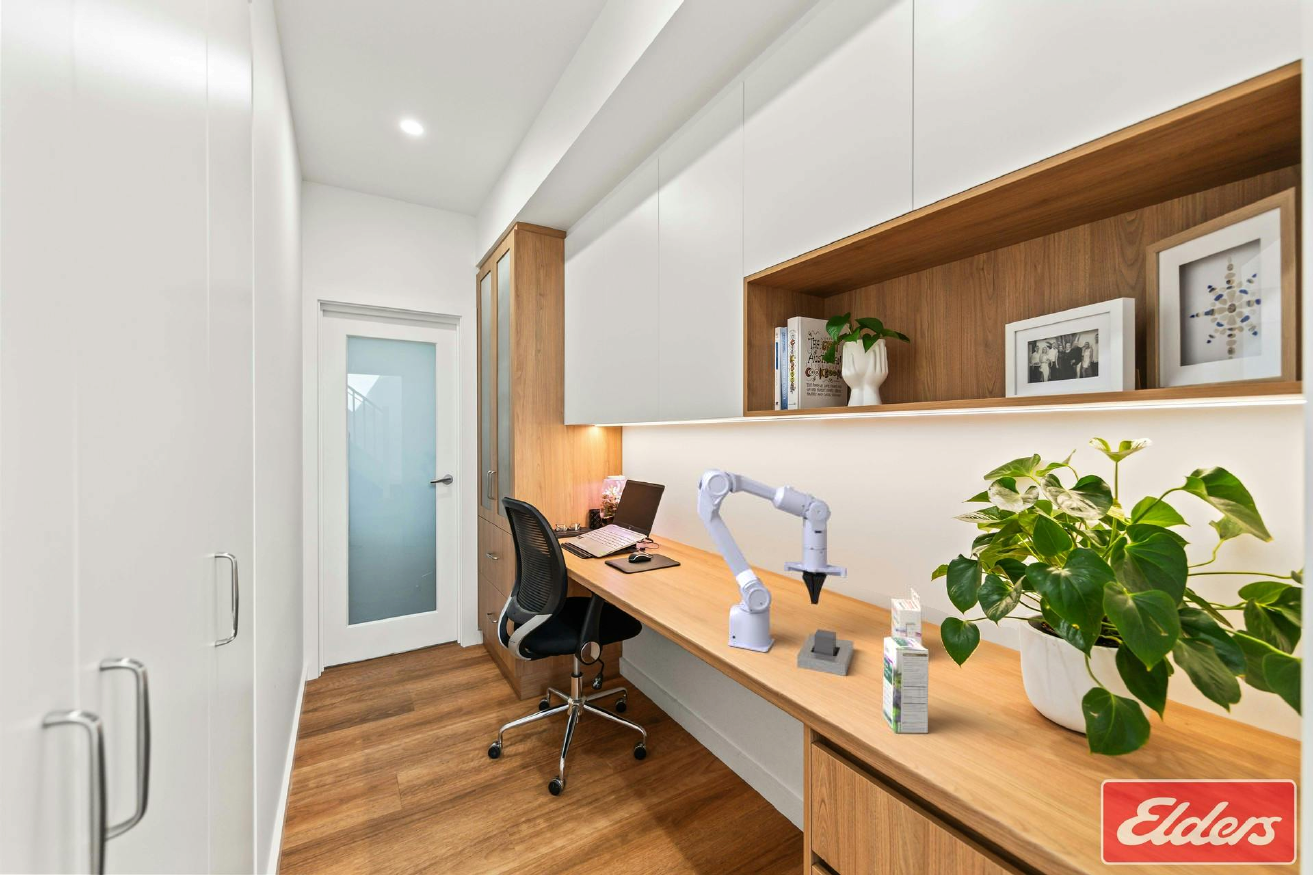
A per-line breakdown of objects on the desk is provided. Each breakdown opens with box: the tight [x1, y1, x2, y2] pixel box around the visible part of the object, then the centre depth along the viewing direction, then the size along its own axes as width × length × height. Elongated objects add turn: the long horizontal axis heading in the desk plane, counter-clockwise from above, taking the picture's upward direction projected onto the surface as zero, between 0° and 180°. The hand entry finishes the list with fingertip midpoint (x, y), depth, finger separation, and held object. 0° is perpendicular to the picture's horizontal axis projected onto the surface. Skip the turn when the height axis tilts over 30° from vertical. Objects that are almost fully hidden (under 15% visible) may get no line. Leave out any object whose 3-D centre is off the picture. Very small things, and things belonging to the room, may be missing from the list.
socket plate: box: [796, 633, 854, 677], centre depth 121 cm, size 10×14×3 cm
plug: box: [813, 628, 837, 657], centre depth 120 cm, size 4×4×6 cm
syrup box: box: [882, 636, 930, 734], centre depth 93 cm, size 6×6×14 cm
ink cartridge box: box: [890, 587, 923, 646], centre depth 123 cm, size 9×5×15 cm, turn 168°
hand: (814, 603), depth 129 cm, fingers closed
